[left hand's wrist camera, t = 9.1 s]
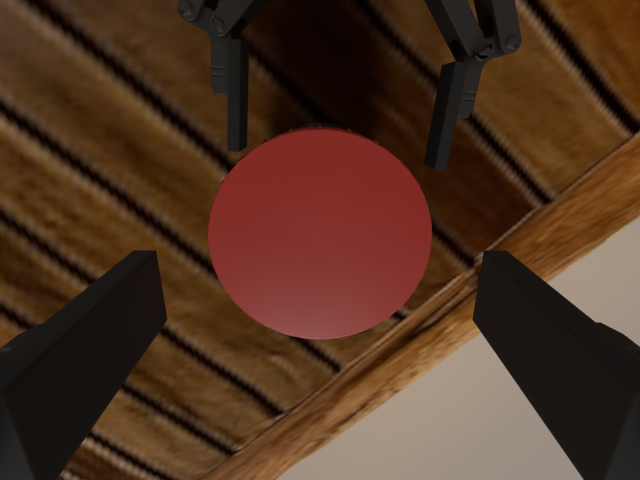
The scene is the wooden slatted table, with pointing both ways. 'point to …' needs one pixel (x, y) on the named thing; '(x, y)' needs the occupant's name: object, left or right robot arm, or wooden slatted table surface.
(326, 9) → the wooden slatted table surface
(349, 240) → the lid
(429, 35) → the wooden slatted table surface
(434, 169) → the right robot arm
